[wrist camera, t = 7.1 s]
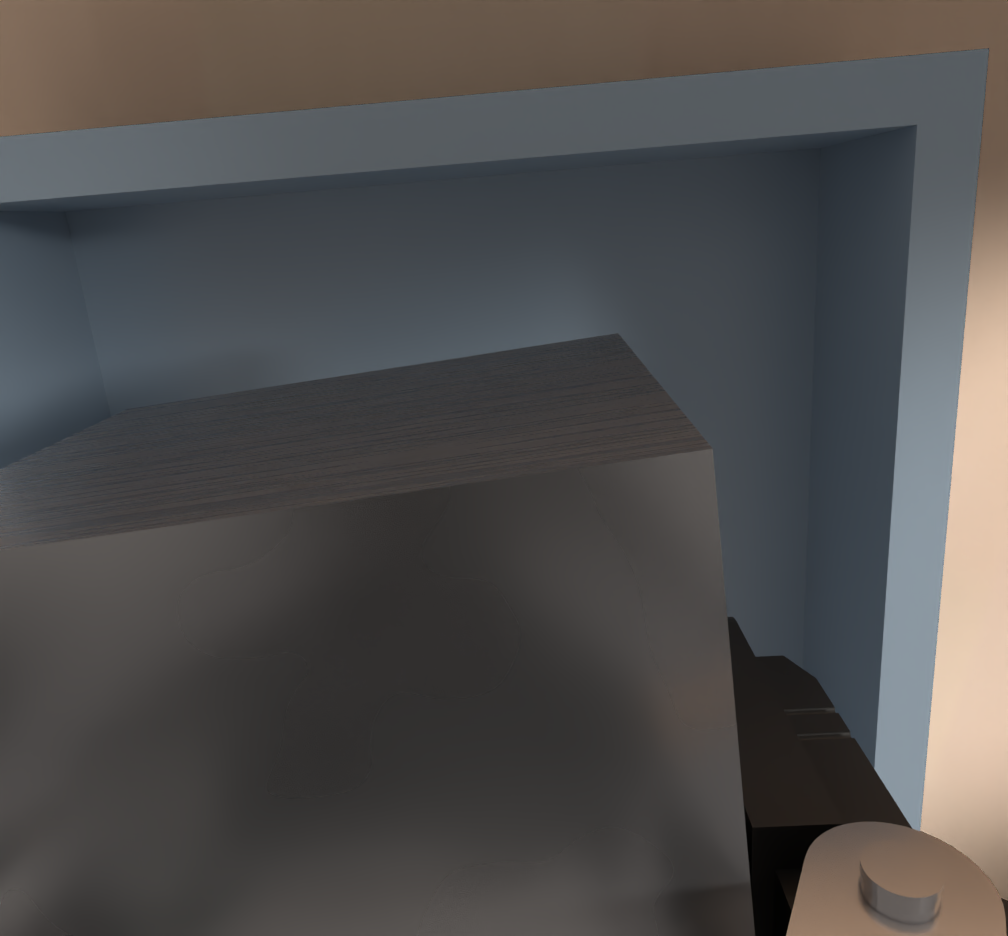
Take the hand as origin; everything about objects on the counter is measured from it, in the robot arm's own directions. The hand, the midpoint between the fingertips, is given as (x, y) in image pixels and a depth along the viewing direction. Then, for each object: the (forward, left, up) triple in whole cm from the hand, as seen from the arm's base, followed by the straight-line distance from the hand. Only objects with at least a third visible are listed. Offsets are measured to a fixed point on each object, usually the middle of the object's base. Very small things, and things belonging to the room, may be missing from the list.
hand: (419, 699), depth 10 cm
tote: (0, 0, -7) cm, 7 cm away
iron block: (0, 0, -1) cm, 1 cm away
